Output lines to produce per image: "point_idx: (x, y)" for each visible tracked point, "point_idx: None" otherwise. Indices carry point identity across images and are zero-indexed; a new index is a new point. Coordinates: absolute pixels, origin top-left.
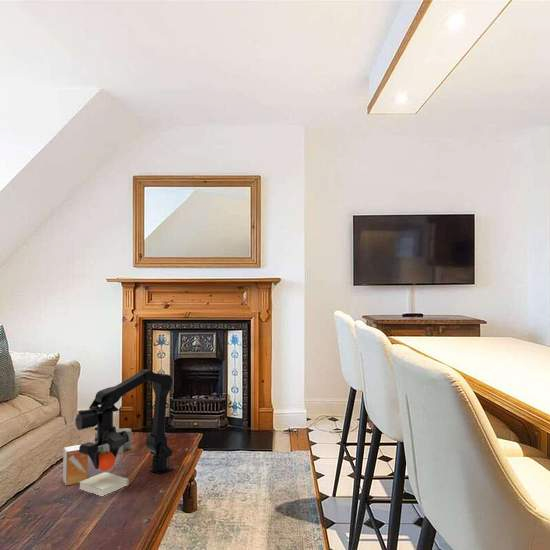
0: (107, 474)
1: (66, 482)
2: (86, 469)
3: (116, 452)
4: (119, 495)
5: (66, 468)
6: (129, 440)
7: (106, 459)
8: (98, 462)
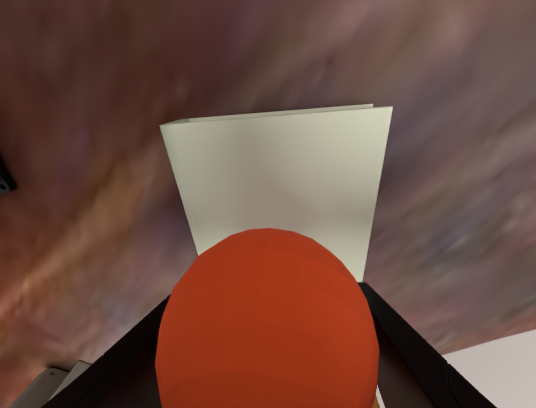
0: None
1: None
2: None
3: (93, 381)
4: (299, 27)
5: (375, 396)
6: (19, 404)
7: (328, 323)
8: (389, 337)
